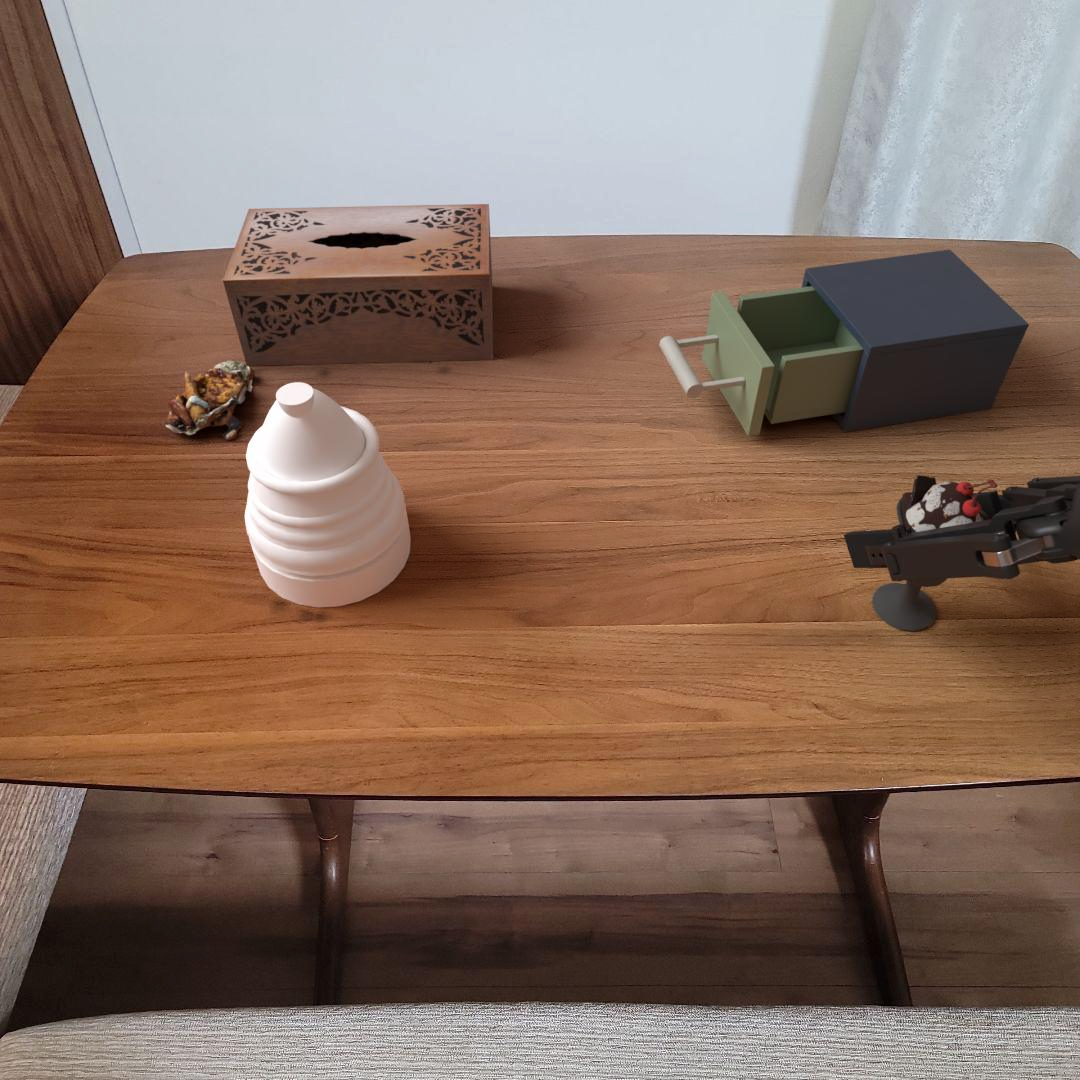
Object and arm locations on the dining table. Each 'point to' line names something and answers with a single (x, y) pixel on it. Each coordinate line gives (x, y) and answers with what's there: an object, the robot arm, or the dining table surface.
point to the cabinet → (919, 336)
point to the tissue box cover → (363, 284)
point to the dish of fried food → (211, 399)
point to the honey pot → (323, 502)
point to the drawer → (772, 357)
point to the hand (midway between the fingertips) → (894, 532)
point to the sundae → (922, 513)
